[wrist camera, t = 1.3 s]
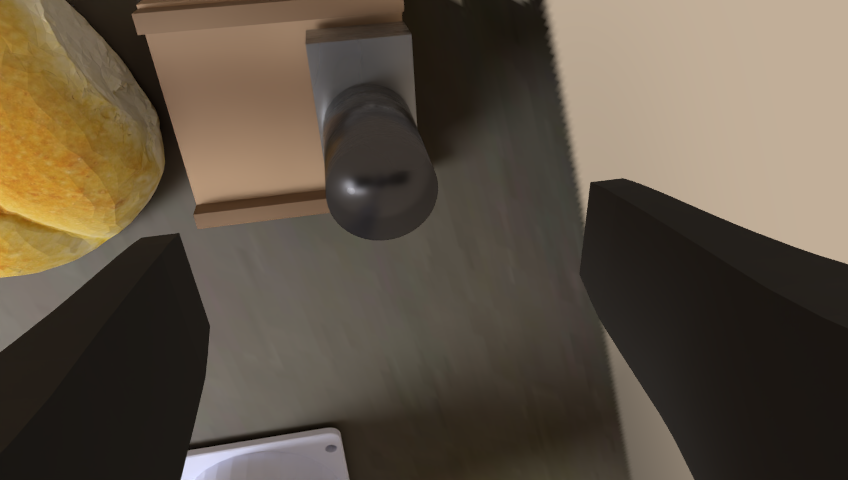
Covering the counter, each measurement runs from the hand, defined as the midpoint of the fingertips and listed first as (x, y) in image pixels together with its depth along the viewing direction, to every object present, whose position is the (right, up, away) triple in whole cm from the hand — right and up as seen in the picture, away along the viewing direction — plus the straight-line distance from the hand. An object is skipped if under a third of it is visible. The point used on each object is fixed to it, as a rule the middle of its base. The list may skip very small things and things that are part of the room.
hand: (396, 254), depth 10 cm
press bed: (-4, +5, +8) cm, 10 cm away
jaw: (-1, +4, +6) cm, 8 cm away
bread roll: (-12, +4, +7) cm, 15 cm away
